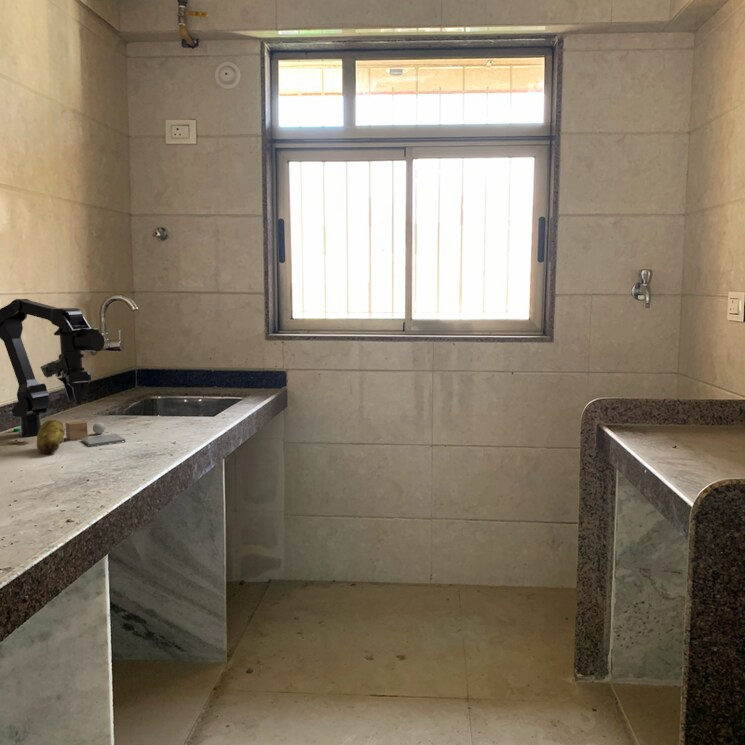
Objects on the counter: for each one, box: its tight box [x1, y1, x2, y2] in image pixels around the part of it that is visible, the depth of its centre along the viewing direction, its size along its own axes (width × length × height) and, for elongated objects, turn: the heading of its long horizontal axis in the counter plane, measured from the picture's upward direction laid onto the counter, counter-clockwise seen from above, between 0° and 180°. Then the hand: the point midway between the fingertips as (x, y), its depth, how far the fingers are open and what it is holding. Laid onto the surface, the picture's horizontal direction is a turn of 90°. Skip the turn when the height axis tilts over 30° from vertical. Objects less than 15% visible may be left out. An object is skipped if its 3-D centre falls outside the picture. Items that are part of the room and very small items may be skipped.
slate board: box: [80, 433, 126, 447], centre depth 211 cm, size 10×10×1 cm
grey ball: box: [92, 422, 106, 435], centre depth 222 cm, size 4×4×4 cm
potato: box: [36, 419, 66, 455], centre depth 200 cm, size 8×13×8 cm, turn 1°
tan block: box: [65, 419, 89, 441], centre depth 216 cm, size 5×5×5 cm
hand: (74, 402), depth 215 cm, fingers open, 9 cm apart
